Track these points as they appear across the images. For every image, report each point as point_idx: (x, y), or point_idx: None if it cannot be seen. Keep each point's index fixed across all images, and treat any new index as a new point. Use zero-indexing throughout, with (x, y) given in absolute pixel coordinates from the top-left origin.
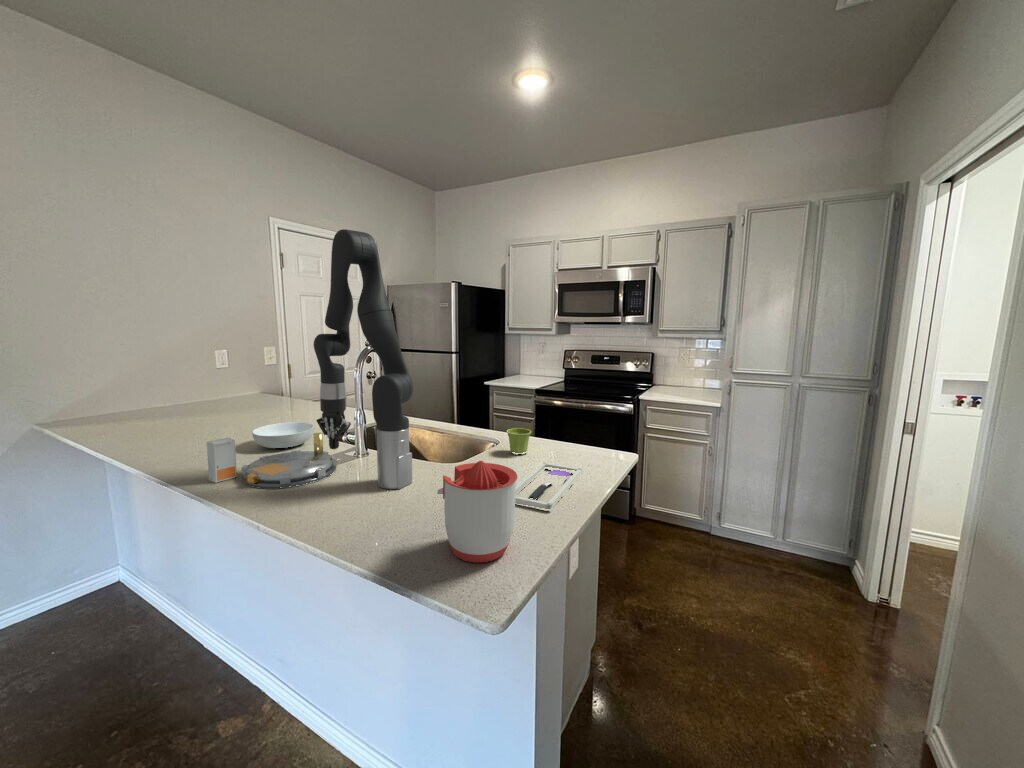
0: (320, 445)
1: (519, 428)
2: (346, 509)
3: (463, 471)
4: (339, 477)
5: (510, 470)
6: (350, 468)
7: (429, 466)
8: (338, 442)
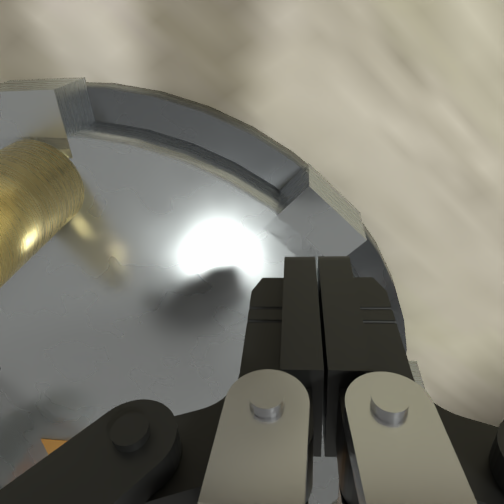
0: (29, 243)
1: None
2: None
3: None
4: (486, 292)
5: None
6: (441, 108)
7: None
8: (396, 331)
